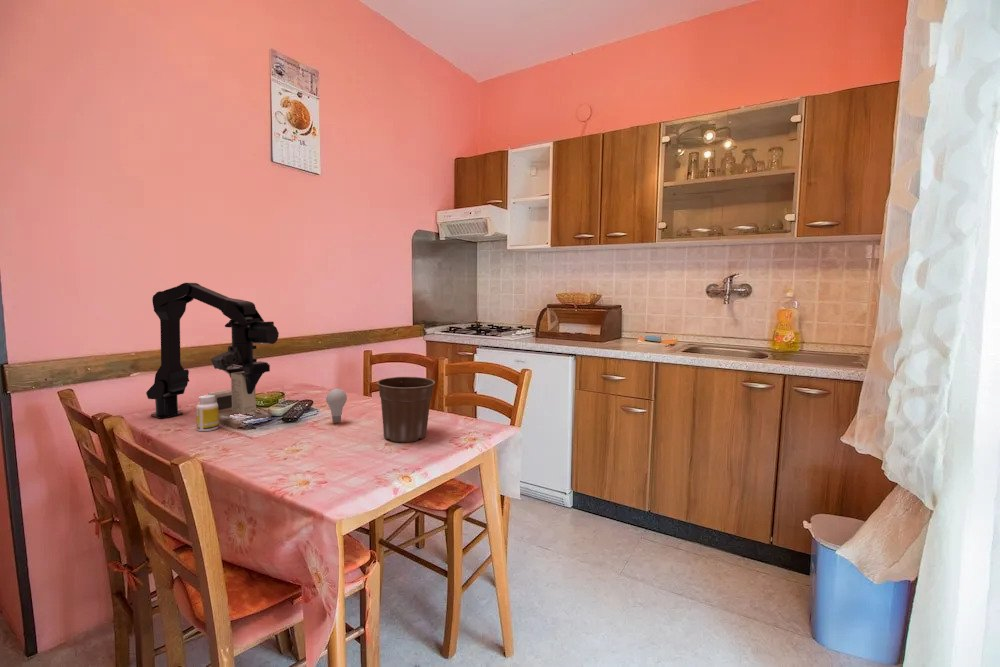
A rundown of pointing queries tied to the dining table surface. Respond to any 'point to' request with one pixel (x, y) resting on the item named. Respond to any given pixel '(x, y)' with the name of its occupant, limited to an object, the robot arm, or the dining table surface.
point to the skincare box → (241, 395)
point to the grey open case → (225, 409)
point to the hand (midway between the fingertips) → (243, 392)
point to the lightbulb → (336, 403)
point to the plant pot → (405, 407)
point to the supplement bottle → (207, 413)
